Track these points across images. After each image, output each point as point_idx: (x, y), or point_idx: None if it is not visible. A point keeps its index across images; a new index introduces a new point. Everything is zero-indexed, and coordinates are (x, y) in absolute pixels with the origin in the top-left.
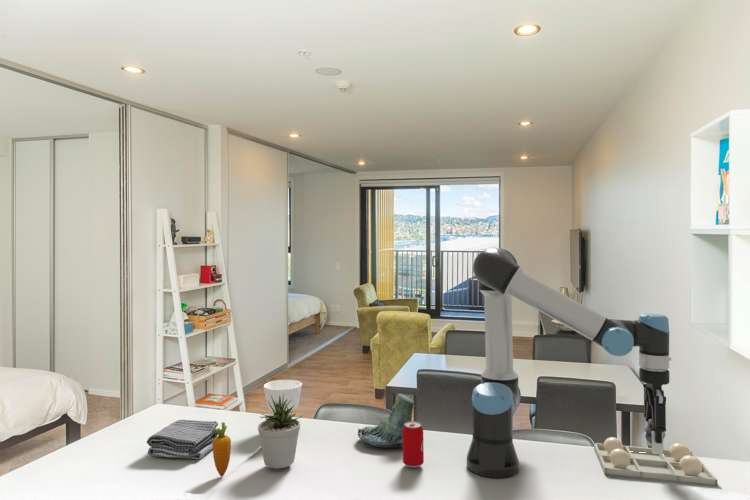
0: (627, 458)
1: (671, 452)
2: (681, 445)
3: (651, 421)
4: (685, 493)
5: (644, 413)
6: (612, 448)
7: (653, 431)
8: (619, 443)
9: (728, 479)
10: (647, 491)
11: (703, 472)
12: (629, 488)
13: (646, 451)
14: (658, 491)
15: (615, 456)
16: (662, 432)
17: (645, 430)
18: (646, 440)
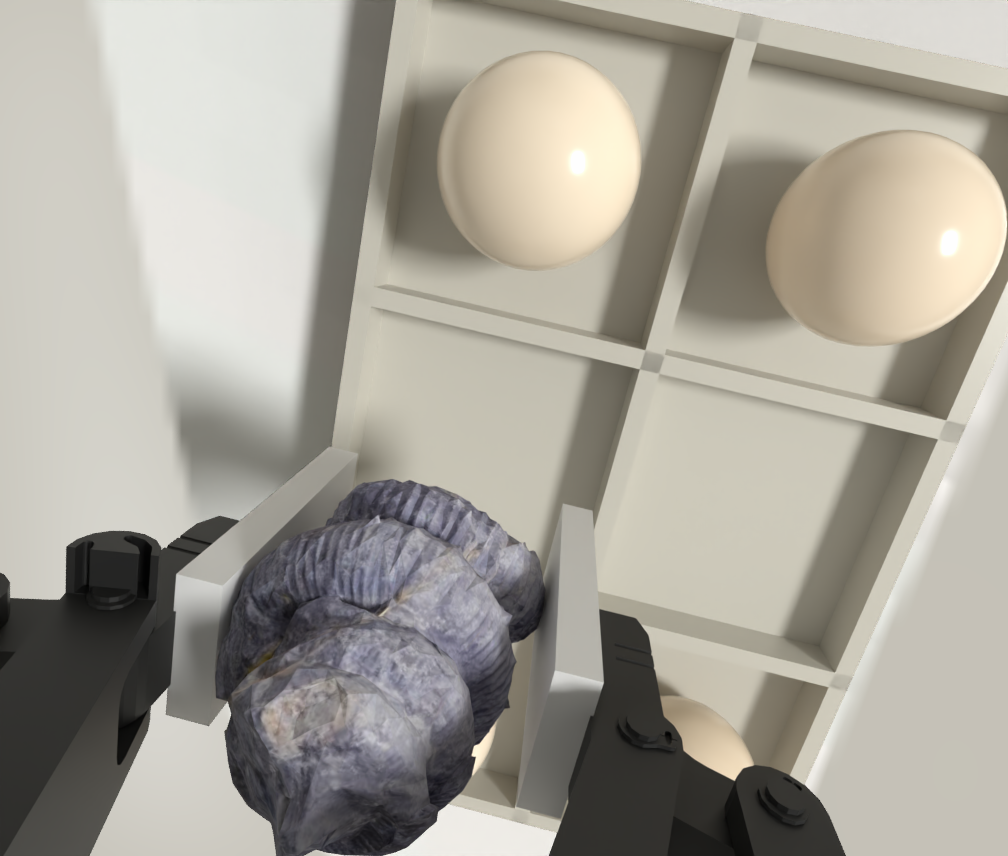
0: (450, 213)
1: (670, 719)
2: None
3: (245, 703)
4: (187, 488)
5: (787, 836)
6: (793, 191)
7: (184, 579)
8: (822, 287)
9: (422, 844)
10: (167, 232)
11: (484, 766)
12: (191, 103)
13: (856, 577)
14: (182, 318)
15: (475, 81)
16: (178, 692)
17: (371, 520)
18: (576, 529)
